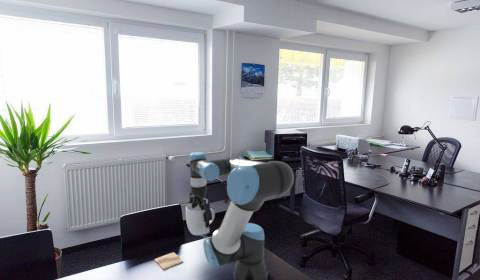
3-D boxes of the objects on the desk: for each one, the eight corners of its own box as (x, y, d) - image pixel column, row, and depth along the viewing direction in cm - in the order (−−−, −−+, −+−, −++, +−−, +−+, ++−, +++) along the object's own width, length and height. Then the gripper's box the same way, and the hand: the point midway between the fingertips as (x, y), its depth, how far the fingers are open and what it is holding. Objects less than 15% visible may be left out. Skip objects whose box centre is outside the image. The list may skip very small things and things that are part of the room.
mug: (208, 222, 154) (207, 198, 152) (220, 230, 146) (220, 205, 143) (182, 231, 145) (181, 206, 143) (194, 240, 136) (193, 213, 134)
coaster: (183, 262, 142) (183, 260, 142) (163, 270, 136) (163, 268, 136) (173, 253, 150) (173, 251, 150) (154, 260, 144) (154, 259, 144)
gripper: (219, 189, 134) (220, 235, 138) (193, 177, 152) (194, 218, 156) (205, 193, 129) (206, 240, 133) (179, 180, 147) (181, 222, 151)
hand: (200, 228), depth 144 cm, fingers closed on mug, 11 cm apart
